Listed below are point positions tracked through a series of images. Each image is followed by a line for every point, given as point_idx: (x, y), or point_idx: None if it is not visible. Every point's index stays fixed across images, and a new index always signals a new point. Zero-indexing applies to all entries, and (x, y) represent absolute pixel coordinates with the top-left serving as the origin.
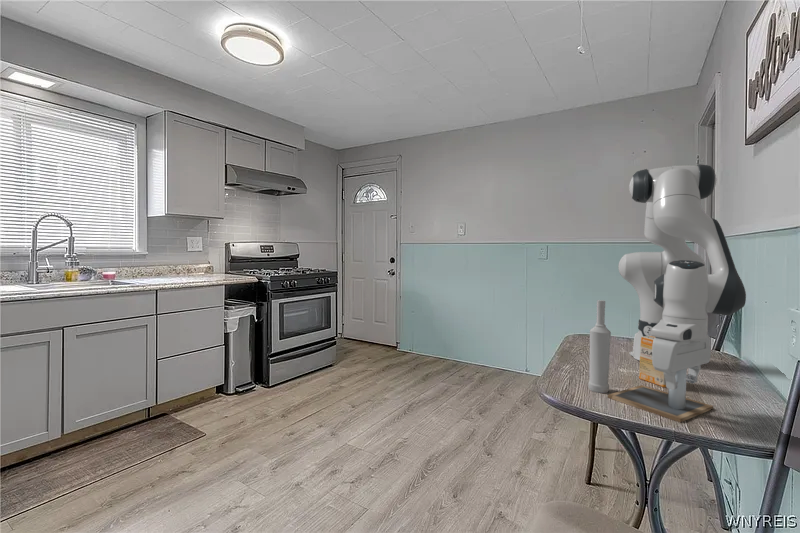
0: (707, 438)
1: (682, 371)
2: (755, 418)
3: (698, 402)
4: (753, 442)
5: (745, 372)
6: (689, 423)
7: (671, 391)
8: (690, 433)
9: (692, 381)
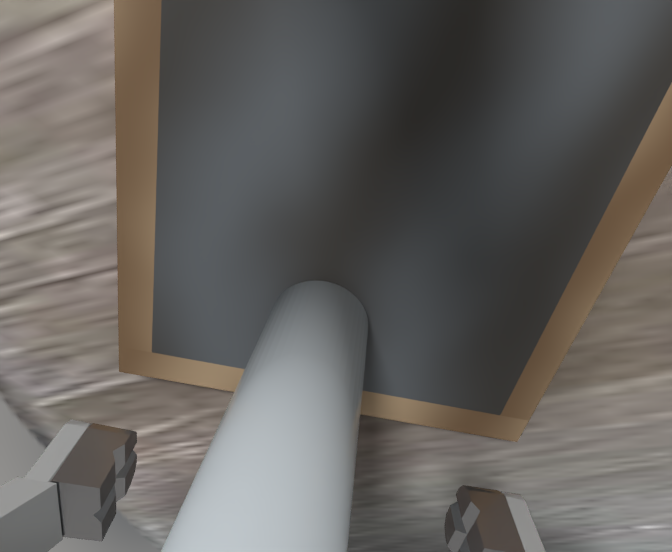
0: None
1: None
2: None
3: (527, 386)
4: None
5: None
6: (162, 387)
7: (241, 378)
8: (32, 409)
9: (449, 529)
